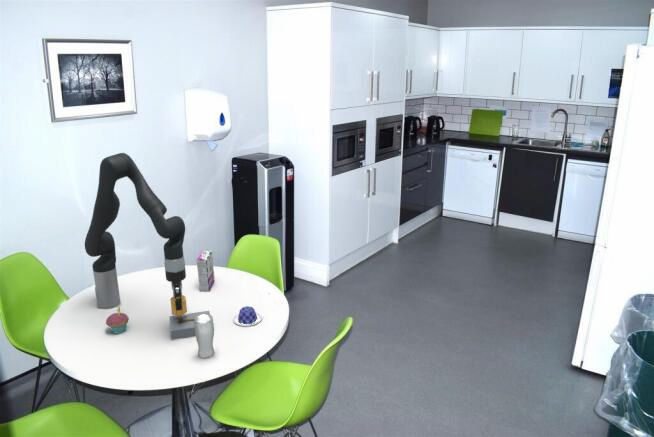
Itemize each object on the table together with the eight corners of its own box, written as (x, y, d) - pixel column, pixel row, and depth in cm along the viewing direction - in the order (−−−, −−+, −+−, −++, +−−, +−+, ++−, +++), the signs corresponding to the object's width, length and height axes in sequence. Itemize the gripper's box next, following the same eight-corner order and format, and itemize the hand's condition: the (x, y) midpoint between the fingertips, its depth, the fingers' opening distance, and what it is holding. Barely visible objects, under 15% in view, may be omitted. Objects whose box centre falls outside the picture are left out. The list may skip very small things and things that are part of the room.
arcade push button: (172, 316, 204) (170, 300, 202) (171, 309, 210) (169, 294, 208) (187, 314, 206) (185, 298, 204) (186, 307, 211) (185, 292, 209)
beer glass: (198, 349, 198) (195, 314, 193) (216, 348, 198) (214, 313, 194) (195, 359, 191) (192, 323, 186) (214, 358, 192) (211, 322, 187)
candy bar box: (204, 281, 254) (202, 250, 249) (214, 281, 254) (212, 250, 249) (198, 291, 244) (196, 259, 238) (209, 291, 244) (207, 259, 238)
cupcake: (134, 326, 213) (131, 300, 209) (120, 337, 206) (116, 310, 202) (117, 323, 216) (113, 297, 212) (102, 333, 208) (98, 306, 204)
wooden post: (177, 323, 208) (175, 303, 205) (177, 321, 210) (175, 301, 207) (183, 322, 209) (181, 302, 206) (182, 320, 210) (180, 300, 208)
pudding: (227, 319, 220) (227, 308, 218) (252, 310, 227) (251, 299, 226) (242, 330, 211) (241, 319, 210) (267, 321, 219) (267, 310, 217)
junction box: (171, 339, 204) (170, 328, 202) (170, 324, 215) (169, 314, 213) (212, 333, 209) (212, 322, 207) (209, 319, 219) (209, 308, 218)
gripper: (164, 261, 207) (168, 298, 212) (165, 276, 194) (169, 314, 199) (183, 259, 209) (187, 295, 214) (186, 273, 196) (189, 311, 201)
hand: (178, 304), depth 207 cm, fingers open, 8 cm apart
